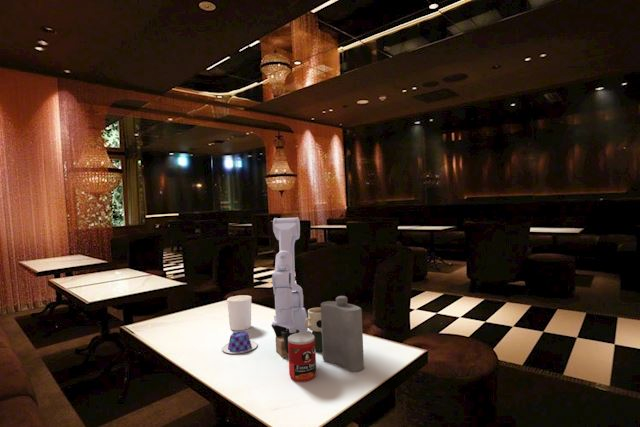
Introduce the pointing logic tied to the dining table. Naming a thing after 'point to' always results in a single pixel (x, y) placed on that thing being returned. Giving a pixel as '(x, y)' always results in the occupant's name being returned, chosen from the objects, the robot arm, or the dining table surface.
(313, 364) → the canned food
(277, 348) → the walnut block
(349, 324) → the flask
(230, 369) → the dining table surface
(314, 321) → the character mug
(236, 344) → the pudding
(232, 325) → the candle holder
